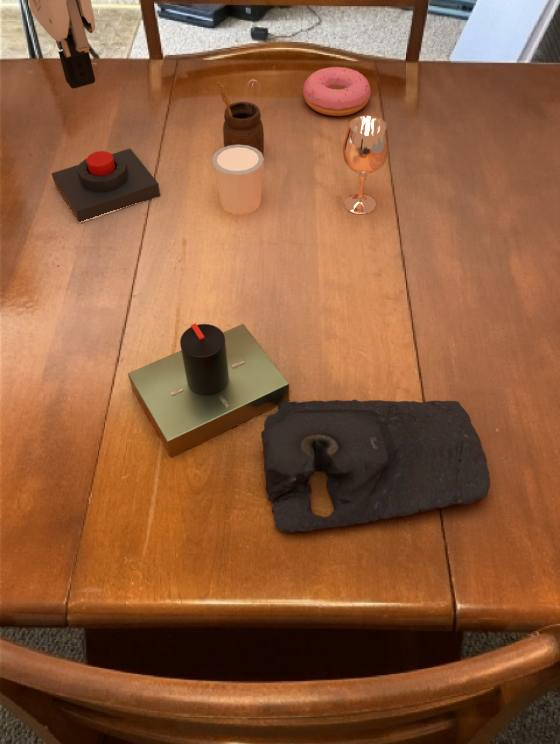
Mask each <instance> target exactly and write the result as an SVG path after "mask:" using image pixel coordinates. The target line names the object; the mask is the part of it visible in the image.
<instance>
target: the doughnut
mask: <svg viewBox="0 0 560 744" xmlns="http://www.w3.org/2000/svg"><path fill="white" fill-rule="evenodd" d="M302 87H303V88H301V89H302V93H303V97H304V100H305V102H306V104H307V105H308V106H309V107H310V108H311V109H312V110H313V111H315V112H317V113H319V114H322V115H326V116H332V117H343V116H349V115H353V114H356V113H357V112H359V111H361V110H362V109H363V108H364V107H366V105H367V103H368V102H369V99H370V97H371V94H372V93H371V92H372V91H371V90H372V89H371V85H370V83H369V81H368V78H366V77H365V76H364V75H363V74H362V73H361V71H360V72H359V71H358V70H357V69H356V70H355V69H351V68H348V67H341V66H330V67H325V68H321V69H318V70H316V71H315V72H311V74H310V75H309V76H308V78H307V79H306V80H304V85H303V86H302Z"/></svg>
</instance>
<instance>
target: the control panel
mask: <svg viewBox="0 0 560 744" xmlns="http://www.w3.org/2000/svg"><path fill="white" fill-rule="evenodd" d="M222 332H223V334H224V336H225V344H226V354H227V363H228V373H229V380H228V383H227V384H226V386H225V387H224V388H223V389H222V390H220V391H219V392H217V393H214V394H207V395H206V394H199V393H197V392H195V391H193V390H192V389H191V388H190V387H189V385H188V383H187V378H186V373H185V367H184V362H183V356H182V351H181V350H179V351H177V352H175V353H171V354H170V355H167V356H165V357H163V358H161V359H158V360H156V361H153V362H152V363H149V364H147V365H144V366H142V367H140V368H137V369H135V370H133V371H131V372H128V373H127V376H128V379H129V384H130V386H131V390H132V392H133V394H134V396H135V397H136V400H137V401H138V402H139V404H140V406H141V408H142V410H143V411H144V413H145V415H146V416H147V419H148V420H149V421H150V424H151V426H152V427H153V428H154V430H155V432H156V434H157V436H158V437H159V439H160V441H161V442H162V444H163V446H164V448H165V449H166V451H167V453H168V456H170V458H174V457H175V456H177V455H180V454H182V453H183V452H186V451H187V450H190V449H191V448H193V447H196V446H198V445H200V444H202V443H204V442H206V441H209V440H210V439H212V438H214V437H217V436H219V435H221V434H223V433H225V432H227V431H229V430H232V429H233V428H235V427H237V426H240V425H242V424H243V423H246V422H248V421H249V420H252V419H254V418H256V417H258V416H260V415H262V414H264V413H266V412H268V411H271V410H272V409H275V408H277V407H278V406H279V404H281V403H282V402H285V401H288V402H290V382H289V381H288V380H287V379H286V377H285V376H284V374H283V373H282V372H281V371H280V369H279V367H277V366H276V364H275V363H274V362H273V360H272V359H271V358H270V357H269V355H268V354H267V352H266V351H265V349H264V348H262V345H260V343H259V342H258V341H257V340H256V338H255V336H253V334H252V333H251V332H250V330H249V329H248V328H247V326H246V325H245V324H244V323H242V324H240V325H239V324H238V325H237V326H234V327H232V328H230V329H227V330H225V331H222Z"/></svg>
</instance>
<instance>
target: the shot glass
mask: <svg viewBox="0 0 560 744" xmlns="http://www.w3.org/2000/svg"><path fill="white" fill-rule="evenodd" d="M264 161H265V158H264V154H263V155H262V153H261V152H260V151H259V150H257V149H256V148H253V147H251V146H248V145H231V146H227V147H224V146H223V147H222V148H219V149H218V150H217V151H216V152H215V153H214V154H213V156H212V158H211V163H212V167H213V173H214V178H215V183H216V188H217V192H218V197H219V203H220V207H221V208H222V209H223V210H224V211H225V212H226V213H229V214H232V215H238V216H239V215H240V216H241V215H247V214H250V213H252V212H255V211H256V210H257V209H258V208H260V205H261V201H262V189H263V177H264V176H263V174H264V165H265V164H264V163H265V162H264Z"/></svg>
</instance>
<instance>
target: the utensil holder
mask: <svg viewBox="0 0 560 744" xmlns="http://www.w3.org/2000/svg"><path fill="white" fill-rule="evenodd" d="M216 82H217V86H218V90H219V93H220V96H221V100H222V102H223V103H224V105H225V109H224V112H223V113H224V115H223V118H224V122H223V125H222V137H223V148H224V147H227V146H231V145H248V146H251V147H253V148H256V149H257V150H259V151H260V152H261V153H262V155H263V156H264V149H265V139H264V135H265V134H264V123H263V121H262V120H261V118H262V117H261V116H262V115H261V109H260V108H259V107H258V105H257V103H255V104H254V103H253V100H254V99H252V97H250V99H249V98H248V95H249V92H246V90H248V88H249V87H250V86H249V85H250V83H251V82H252V85H251V87H253V89H255V86H256V85H259V87H258V86H256V88H257V91H256V94H259V95H257V98H256V100H255V102H260V100H261V98H260V96H261V95H262V94H261V93H262V91H261V88H262V86H261V84H260V82H259V80H257V79H255V78H251V79H248V82H247V84H244V87H245V89H243V90H244V91H243V94H244V98H246V99H247V101H246V99H243V100H244V101H236V102H233V103H231V102H230V100H229V96H228V94H227V91H226V89H225V86H224V85H222V83H220V82H219V81H216ZM254 83H255V84H254ZM253 89H251V91H250V93H252V92H253ZM254 95H255V92H253V94H252V96H254ZM246 96H247V97H246ZM251 99H252V101H251ZM250 101H251V102H250Z"/></svg>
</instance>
